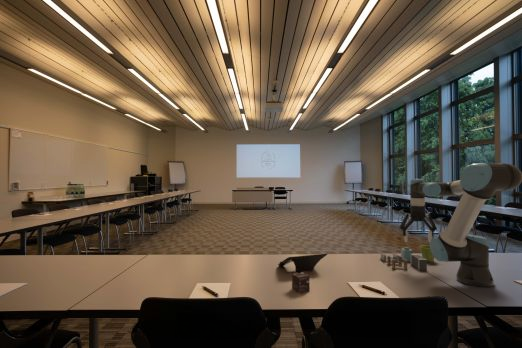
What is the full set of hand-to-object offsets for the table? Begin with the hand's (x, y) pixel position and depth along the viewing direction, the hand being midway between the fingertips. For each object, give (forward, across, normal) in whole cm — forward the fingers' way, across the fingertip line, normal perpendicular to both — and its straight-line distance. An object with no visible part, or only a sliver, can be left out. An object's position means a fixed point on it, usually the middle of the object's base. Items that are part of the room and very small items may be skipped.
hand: (417, 241), depth 174 cm
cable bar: (+15, 0, 0) cm, 15 cm away
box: (+15, +70, +42) cm, 83 cm away
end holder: (+15, +12, -13) cm, 23 cm away
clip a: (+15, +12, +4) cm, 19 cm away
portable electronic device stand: (+15, +69, +9) cm, 71 cm away
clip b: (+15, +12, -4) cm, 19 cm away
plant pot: (+15, -12, -14) cm, 24 cm away
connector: (+15, +1, -15) cm, 21 cm away
